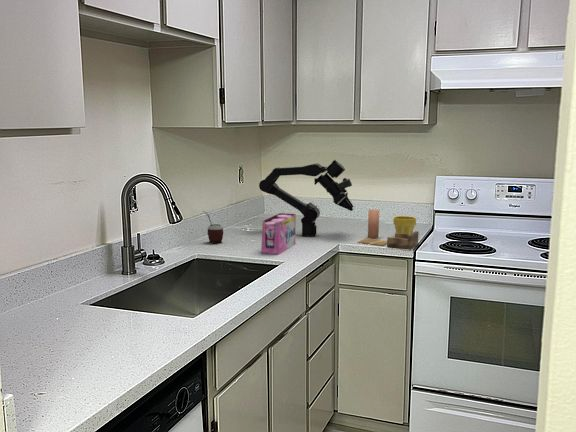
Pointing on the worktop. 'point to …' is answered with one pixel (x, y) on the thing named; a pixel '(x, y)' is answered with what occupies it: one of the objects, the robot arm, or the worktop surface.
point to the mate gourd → (214, 232)
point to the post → (373, 223)
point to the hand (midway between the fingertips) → (352, 208)
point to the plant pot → (404, 224)
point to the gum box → (278, 233)
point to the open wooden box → (403, 241)
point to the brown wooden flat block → (373, 242)
